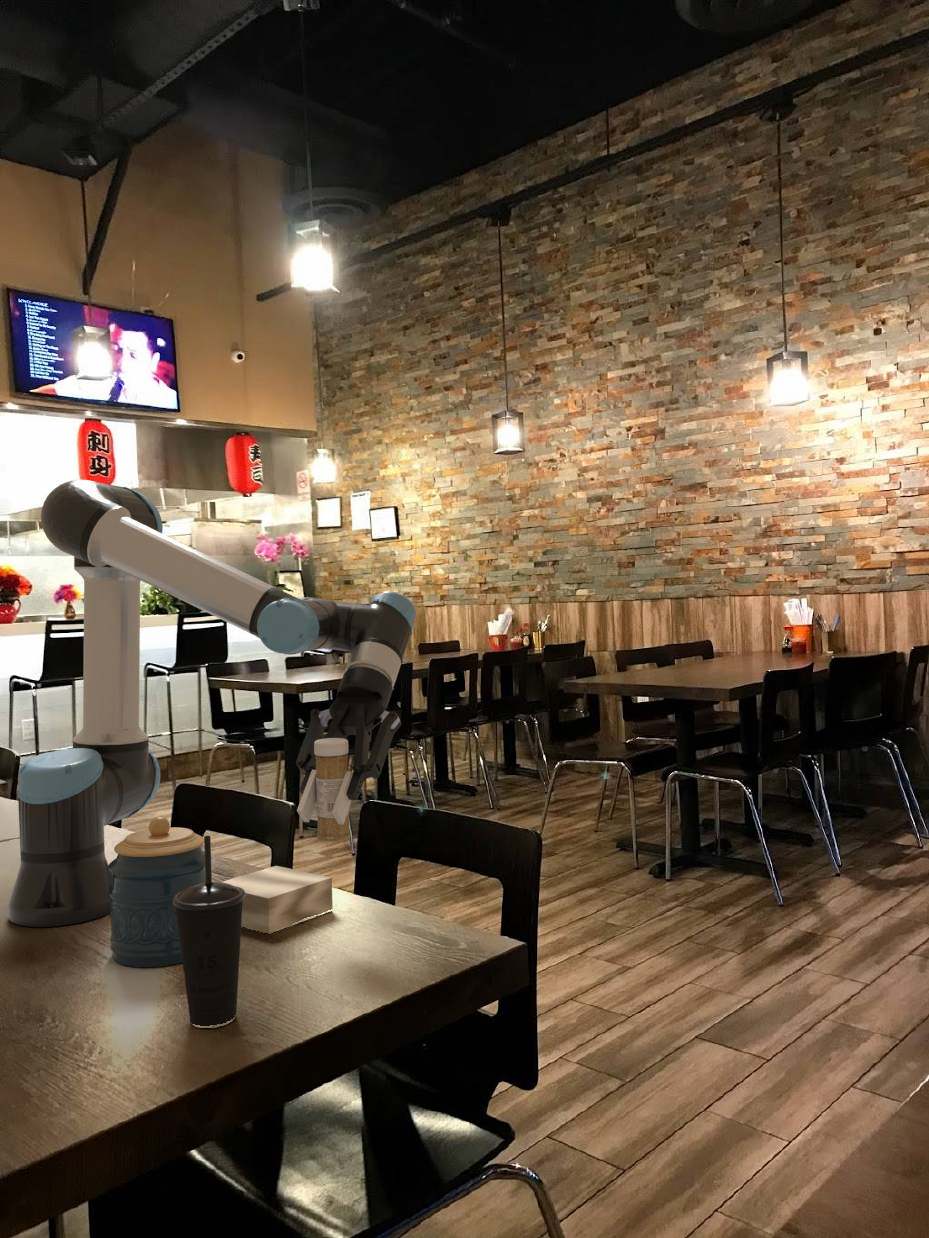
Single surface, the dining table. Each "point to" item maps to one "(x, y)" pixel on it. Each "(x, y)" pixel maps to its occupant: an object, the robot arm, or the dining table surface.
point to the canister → (152, 892)
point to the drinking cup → (210, 946)
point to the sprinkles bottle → (330, 787)
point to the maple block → (282, 897)
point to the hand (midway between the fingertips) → (320, 817)
